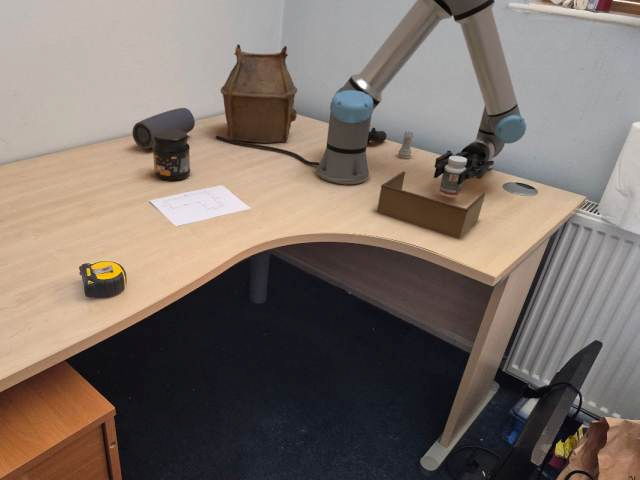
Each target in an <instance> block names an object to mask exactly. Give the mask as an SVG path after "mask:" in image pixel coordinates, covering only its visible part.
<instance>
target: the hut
mask: <svg viewBox="0 0 640 480" xmlns="http://www.w3.org/2000/svg"><path fill="white" fill-rule="evenodd" d="M287 49H288V47H287V45H284V46H283V47H282V49H281V51H280V52H275V53H256V52H255V53H254V52H246V51H242V49H241V45H240V44H239V43H238V44H236V47H235V51H234V53H233V54H234V55H235V57H236V63H235V65H234V66H233V68H232V69H231V71H230V73H229V74H228V77H227V79H226V80H225V83H224V84H223V86H222V87H221V88H220V94H222V98H223V107H224V114H225V115H224V116H225V120H226V125H227V131H228V135H229V137H230V140H234V141H239V142H247V143H260V144H261V143H263V144H265V143H267V144H268V143H276V142H278V143H280V142H281V143H287V142H288V138H289V134H290V130H291V127H292V122H295V121H296V119H297V117H298V116H297V115H298V112H297V109H295V108H294V107H295V106H294V105H295V97H296V94H297V93H298V88H297V87H296V86H295V84H294V81H293V78H292V77H291V74H290V72H289V69H288V66H287V64H286V59H287V57H289V54H288V53H287V51H288V50H287Z"/></svg>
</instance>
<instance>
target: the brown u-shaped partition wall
mask: <svg viewBox="0 0 640 480" xmlns="http://www.w3.org/2000/svg"><path fill="white" fill-rule="evenodd" d="M405 175H406V171H401V172H400V173H398V174H397V175H395V176H393V177H392V178H390V179H389V180H387V181H385V182H384V183H382V184H380V185H381V186H380V191H379V198H378V203H377V209H376V213H378V214H383V215H386V216H388V217H392V218H395V219H398V220H401V221H405V222H408V223H410V224H414V225H417V226H419V227H423V228H426V229H429V230H432V231H434V232H438V233H442V234H445V235H447V236H451V237H454V238H457V239H461V238H462V237H463V236H464V235H465V234H466V233H467V232H468V231H469V230H470V229H471V228H472V227H473V226H474V225H475V224H476V223H477V222H478V220H479V218H480V217H479V216H480V214H481V210H482V207H483V204H484V200H485V197H486V193H484V192H483V193H481V194H480V195H479V196H478V197H477V198H476V199H475V200H474V201H473V202H472V203H470V204H469V205H468V206H467V207H466V208H465V207H463V206H459V205H456V204H451V203H448V202H445V201H441V200H438V199H435V198H432V197H431V198H430V197H427V196H425V195H421V194H417V193H414V192H411V191H407V190H404V189H403V185H404V181H405Z"/></svg>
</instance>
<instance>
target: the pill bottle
mask: <svg viewBox="0 0 640 480" xmlns="http://www.w3.org/2000/svg"><path fill="white" fill-rule="evenodd" d="M466 163H467V159H466V158H464V157H461V156H450V157H449V159H448V164H447V165H446V166H445V168H444V172H443V174H442V175H441V180H440V185H439V189H438V192H439V194H441V195H442V196H444V197H449V198H456V197H459V196H460V195H461V192H462V188H463V186H464V182H462V183H461V184H460V185H459V184H457V182H458V178H459V174H460V173H462V172H463V171H464V170H465V169H466V168H465V167H464V166H465V165H466Z"/></svg>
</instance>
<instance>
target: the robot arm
mask: <svg viewBox="0 0 640 480" xmlns="http://www.w3.org/2000/svg"><path fill="white" fill-rule="evenodd" d="M494 5H495V0H416V1H415V2H414V4H413V5H412V6H411V8H410V9H409V10H408V11H407V12H406V13H405V15H404V16H403V17H402V19H401V20H400V21H399V23H398V24H397V25H396V27H395V28H394V29H393V31H391V33H390V34H389V36H388V37H387V38H386V39H385V40H384V41H383V43H382V45H381V46H380V47H379V48H378V50H377V51H376V52H375V53H374V55H373V56H372V58H371V59H370V60H369V61H368V62H367V64H366V65H365V66H364V67H363V69H362V70H361V71H360V72H359V73H356V74H352V75H351V76H350V77H349V79H348V80H347V81H346V82H345V84H344V85H343V86H342V87H340V88H339V89H337V91H336V92H335V93H334V94H333V96H332V97H331V98H332V99H331V102H330V106H329V109H330V111H329V121H328V129H327V139H326V147H325V150H324V153H323V155H322V157H321V159H320V161H319V162H317V161H311V160H307V159H306V158H304V157H303V156H301V155H300V154H297V153H295V152H293V151H291V150H286V149H283V148H279V147H274V146H268V145H262V144H256V143H252V142H246V141H239V140H231V138H227V137H224V136H222V135H218V134H216V135H215V139H218V140H221V141H224V142H227V143H230V144H235V145H240V146H245V147H252V148H257V149H264V150H268V151H269V150H270V151H273V152H274V151H275V152H279V153H283V154H287V155H289V156H293V157H295V158H297V159H298V160H299V161H301V162H303V164H306V165H309V166H318V167H317V173H316V174H317V176H318V177H319V178H320V179H321V180H324V181H325V182H329V183H330V184H331V183H332V184H336V185H347V186H348V185H349V186H351V185H353V186H354V185H360V184H362V183H365V182H366V181H368V179H369V175H370V172H369V171H370V169H369V164H368V157H367V148H368V143H367V141H368V135H369V132H370V127H371V121H372V116H373V115H372V114H373V113H374V110H375V109H376V108H377V106H378V105H379V104H380V103H381V102H382V97H383V95H382V93H383V91H385V89H386V88H387V87H388V85H389V84H390V83H391V82H392V80H393V79H395V77H396V76H397V75H398V74H399V72H400V71H401V70H402V68H403V67H404V66H405V65H406V64H407V63H408V61H409V60H410V59H411V58H412V57H413V55H414V54H415V53H416V52H417V50H419V48H420V47H421V45H422V44H423V43H424V42H425V41H426V40H427V39H428V37H429V36H430V35H431V34H432V32H433V31H434V30H435V29H436V28H437V27H438V25H439V24H440V23H441V21H443V20H447V19H451V18H453V21H454V23H457V24H459V25H460V28H461V32H462V35H463V38H464V41H465V44H466V47H467V51H468V54H469V57H470V61H471V64H472V67H473V70H474V74H475V78H476V80H477V83H478V86H479V89H480V93H481V96H482V100H483V104H484V108H483V112H482V115H481V119H480V123H479V127H478V130H477V134H476V138H475V140H473V141H472V142H471V143H469V144H467V145H465V147H463V148H462V150H460V151H459V152H457V153H456V154H455V153H453V152H452V150H446V152H445V153H443V154H442V155H440V156H438V157H437V158H435V162H434V166H433V167H434V168H435V170H434V174H433V179H437V178H439V177H440V176H443V172H444V168H445V166H446V165H447V164H448V159H449V157H450V156H461V157H464V158H466V159H467V163H466V165H465V166H464V167H465V168H466V169H465V170H464V171H463V172H462V173H460V174H459V178H458V182H457V184H459V185H460V184H461V183H462V182H463V183H464V182H465V181H466V180H471V179H473V178H476V179H477V180H481V179H482V178H483V177H484V176H485V175H486V174H487V173H488V172H491V171H492V170H493V167H494V164H495V160H492V159H493V158H495V157H497V156H498V155H499V154H500V153H501V152H502V151H503V149H504V147H505V144H508V145H509V144H513V143H516V142H518V141H520V140H521V139H522V138H523V137H524V135H525V134H526V130H527V123H526V121H525V118H524V117H522V116H521V115H522V114H521V112H520V108H519V105H518V101H517V96H516V94H515V89H514V86H513V82H512V78H511V74H510V71H509V67H508V64H507V60H506V56H505V53H504V49H503V45H502V42H501V37H500V35H499V31H498V26H497V24H496V21H495V16H494V12H493V7H494Z"/></svg>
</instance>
